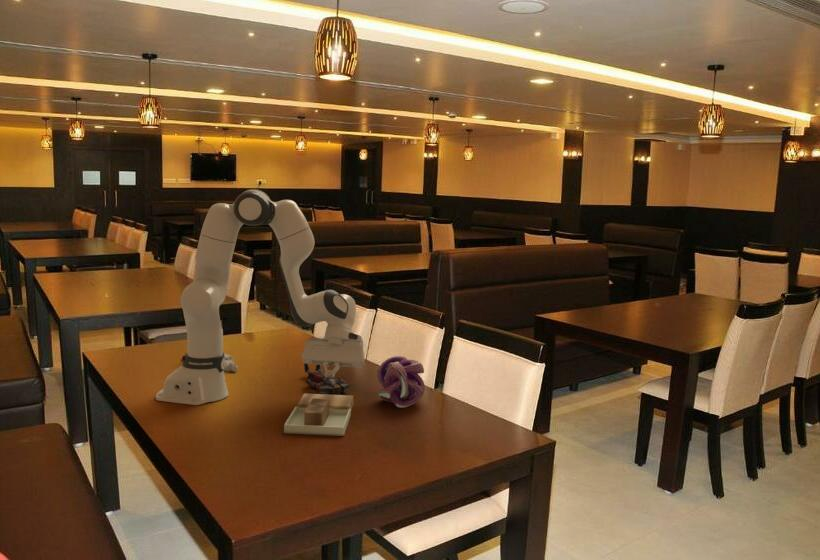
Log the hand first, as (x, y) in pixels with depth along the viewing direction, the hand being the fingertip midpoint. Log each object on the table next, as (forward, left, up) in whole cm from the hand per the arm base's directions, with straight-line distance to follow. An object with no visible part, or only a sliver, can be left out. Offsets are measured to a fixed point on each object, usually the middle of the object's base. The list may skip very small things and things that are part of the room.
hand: (329, 376), depth 199 cm
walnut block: (-1, -10, -7) cm, 12 cm away
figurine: (-4, +17, -10) cm, 20 cm away
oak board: (0, -4, -10) cm, 10 cm away
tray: (0, -17, -10) cm, 19 cm away
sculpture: (+23, +6, -10) cm, 26 cm away
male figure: (-50, +37, -10) cm, 63 cm away
